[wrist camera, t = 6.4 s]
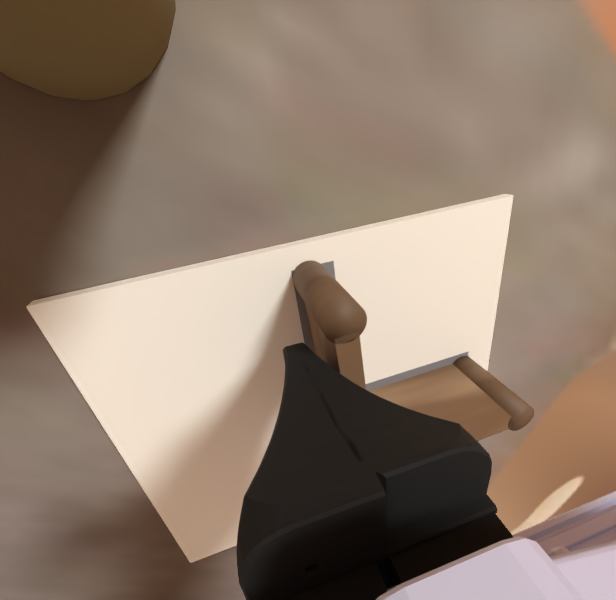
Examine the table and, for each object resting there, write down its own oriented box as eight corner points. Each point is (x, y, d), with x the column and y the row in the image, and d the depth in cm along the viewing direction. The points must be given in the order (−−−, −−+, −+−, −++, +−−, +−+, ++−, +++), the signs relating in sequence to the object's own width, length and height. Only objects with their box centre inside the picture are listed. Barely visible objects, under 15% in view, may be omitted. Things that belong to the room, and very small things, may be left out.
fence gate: (318, 396, 16) (348, 466, 12) (289, 265, 12) (319, 310, 9) (344, 387, 16) (381, 453, 12) (322, 256, 13) (364, 296, 9)
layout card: (470, 447, 22) (475, 453, 22) (190, 553, 19) (190, 563, 19) (504, 193, 14) (513, 195, 14) (33, 300, 11) (25, 306, 11)
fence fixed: (470, 374, 18) (540, 436, 14) (319, 425, 17) (352, 509, 13) (472, 349, 18) (548, 407, 14) (315, 400, 16) (348, 482, 12)
